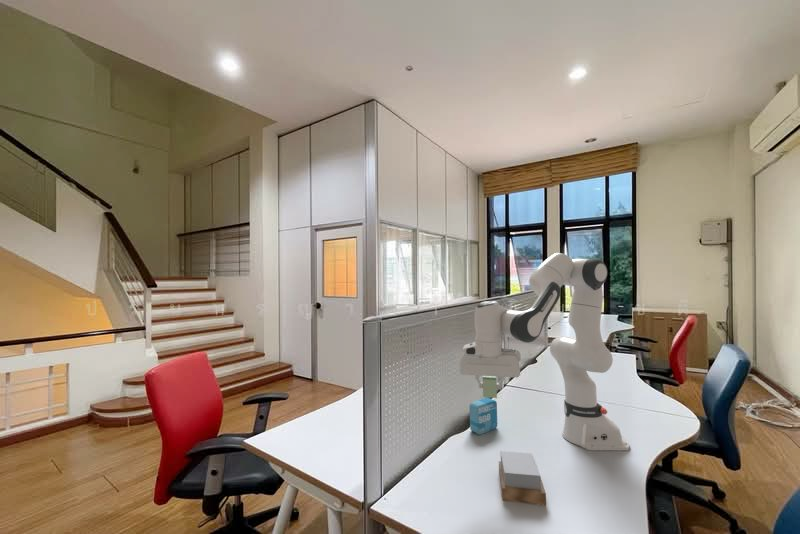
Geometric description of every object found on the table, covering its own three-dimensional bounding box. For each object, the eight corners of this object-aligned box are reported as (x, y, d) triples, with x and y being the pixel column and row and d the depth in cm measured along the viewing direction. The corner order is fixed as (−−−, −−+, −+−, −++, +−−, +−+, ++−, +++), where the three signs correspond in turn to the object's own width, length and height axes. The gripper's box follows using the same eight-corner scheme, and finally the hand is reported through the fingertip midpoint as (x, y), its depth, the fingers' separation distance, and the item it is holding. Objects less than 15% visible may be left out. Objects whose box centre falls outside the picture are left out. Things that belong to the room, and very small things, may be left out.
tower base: (537, 477, 106) (536, 465, 106) (546, 507, 92) (545, 493, 93) (499, 473, 109) (498, 461, 109) (502, 502, 95) (502, 488, 95)
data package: (477, 435, 133) (476, 406, 134) (469, 431, 137) (469, 402, 137) (497, 427, 140) (496, 399, 140) (489, 424, 143) (489, 396, 144)
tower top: (532, 465, 106) (532, 453, 106) (541, 489, 94) (540, 475, 94) (500, 463, 108) (500, 451, 108) (505, 486, 96) (504, 472, 96)
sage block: (496, 393, 114) (495, 376, 114) (496, 398, 109) (496, 380, 109) (483, 392, 115) (482, 375, 115) (483, 397, 110) (482, 379, 111)
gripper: (519, 347, 113) (520, 387, 112) (459, 345, 118) (461, 383, 118) (521, 351, 107) (522, 393, 106) (458, 349, 112) (459, 389, 112)
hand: (489, 388), depth 112 cm, fingers closed on sage block, 4 cm apart
